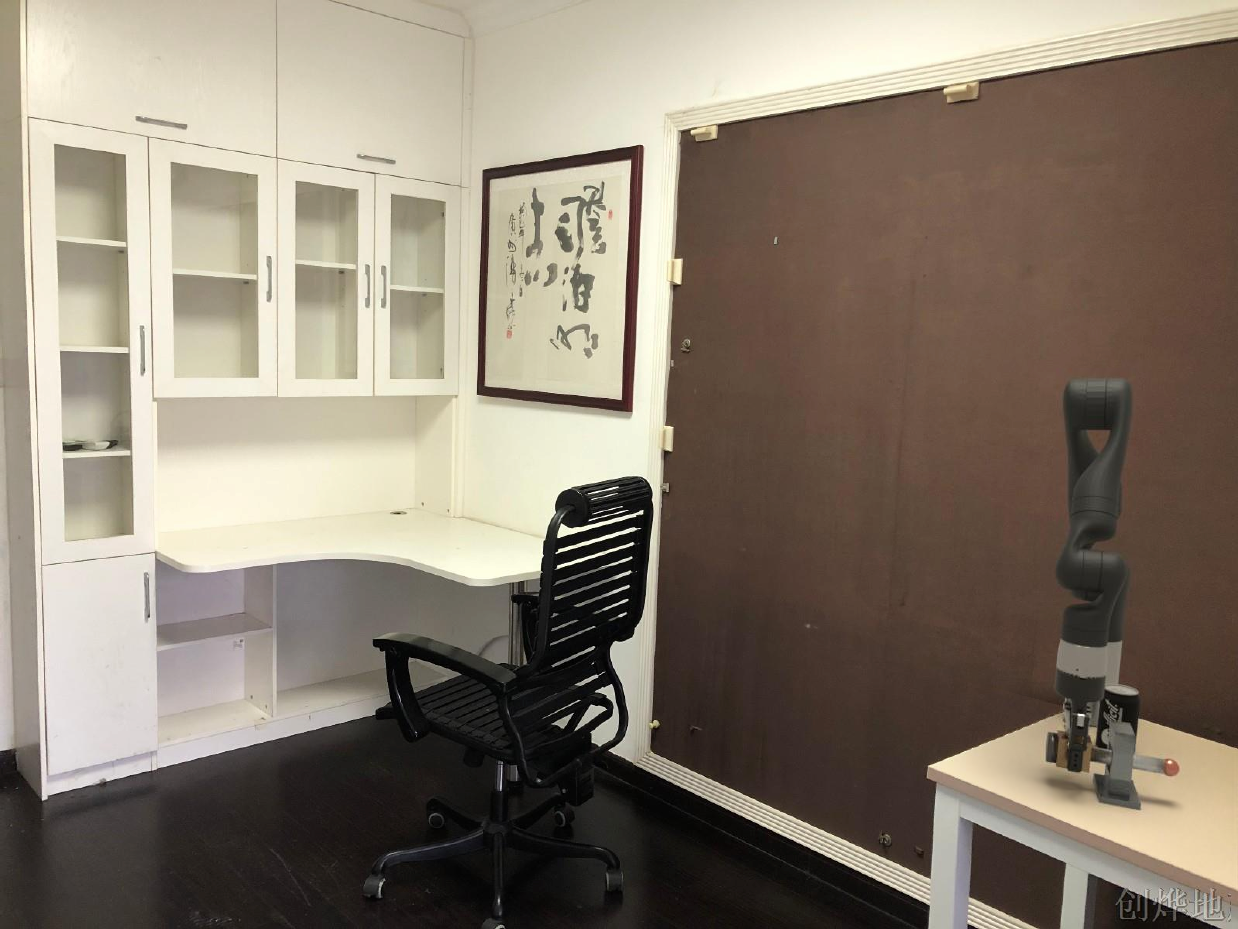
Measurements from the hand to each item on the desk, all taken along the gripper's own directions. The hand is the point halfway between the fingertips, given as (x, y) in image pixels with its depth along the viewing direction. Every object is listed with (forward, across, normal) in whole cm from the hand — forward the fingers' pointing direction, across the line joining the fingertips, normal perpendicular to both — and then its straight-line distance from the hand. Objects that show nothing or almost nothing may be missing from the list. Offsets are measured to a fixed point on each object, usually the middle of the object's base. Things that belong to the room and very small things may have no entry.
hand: (1071, 761), depth 162 cm
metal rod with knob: (+1, 0, +6) cm, 6 cm away
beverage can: (+4, -21, +9) cm, 23 cm away
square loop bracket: (+4, 0, +7) cm, 8 cm away
